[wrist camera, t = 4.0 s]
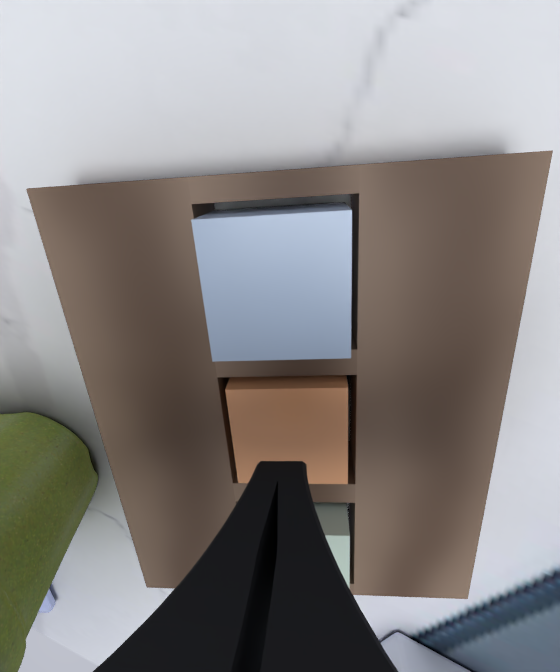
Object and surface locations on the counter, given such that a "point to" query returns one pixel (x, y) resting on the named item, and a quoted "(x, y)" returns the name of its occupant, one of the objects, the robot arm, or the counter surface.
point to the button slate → (276, 281)
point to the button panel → (363, 367)
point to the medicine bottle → (416, 656)
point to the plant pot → (36, 518)
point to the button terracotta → (290, 424)
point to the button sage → (336, 533)
